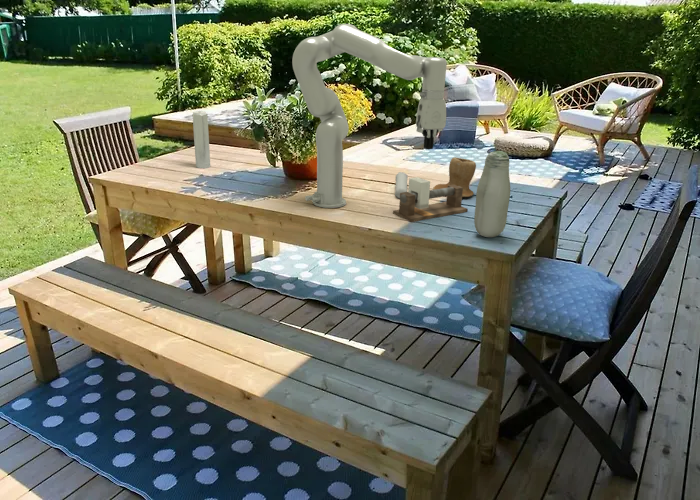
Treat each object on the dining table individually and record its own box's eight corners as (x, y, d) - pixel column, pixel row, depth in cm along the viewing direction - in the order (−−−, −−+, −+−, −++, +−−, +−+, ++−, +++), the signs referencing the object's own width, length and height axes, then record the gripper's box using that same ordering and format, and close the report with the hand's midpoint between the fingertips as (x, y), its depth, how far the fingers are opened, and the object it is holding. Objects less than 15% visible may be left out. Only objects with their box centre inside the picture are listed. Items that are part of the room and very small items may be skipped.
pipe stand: (411, 222, 212) (412, 198, 209) (392, 213, 221) (393, 190, 218) (467, 211, 225) (469, 189, 222) (447, 204, 234) (449, 182, 231)
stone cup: (478, 194, 248) (482, 158, 242) (466, 201, 239) (469, 163, 233) (444, 188, 256) (447, 152, 250) (431, 194, 247) (434, 157, 241)
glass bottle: (494, 243, 194) (505, 156, 184) (467, 235, 200) (475, 151, 190) (509, 236, 201) (520, 151, 191) (482, 228, 207) (491, 147, 197)
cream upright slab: (419, 209, 215) (421, 182, 211) (407, 204, 220) (409, 178, 217) (428, 207, 217) (430, 181, 213) (416, 202, 222) (418, 177, 219)
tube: (410, 190, 237) (409, 174, 260) (397, 185, 237) (398, 170, 260) (404, 202, 239) (405, 185, 262) (392, 197, 239) (393, 181, 262)
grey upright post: (208, 168, 278) (205, 112, 269) (194, 168, 278) (190, 112, 269) (211, 165, 284) (208, 110, 275) (197, 164, 284) (194, 110, 275)
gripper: (421, 97, 202) (417, 152, 208) (456, 95, 209) (451, 148, 216) (408, 94, 208) (404, 147, 214) (442, 93, 215) (438, 144, 222)
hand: (428, 148), depth 215 cm, fingers closed
